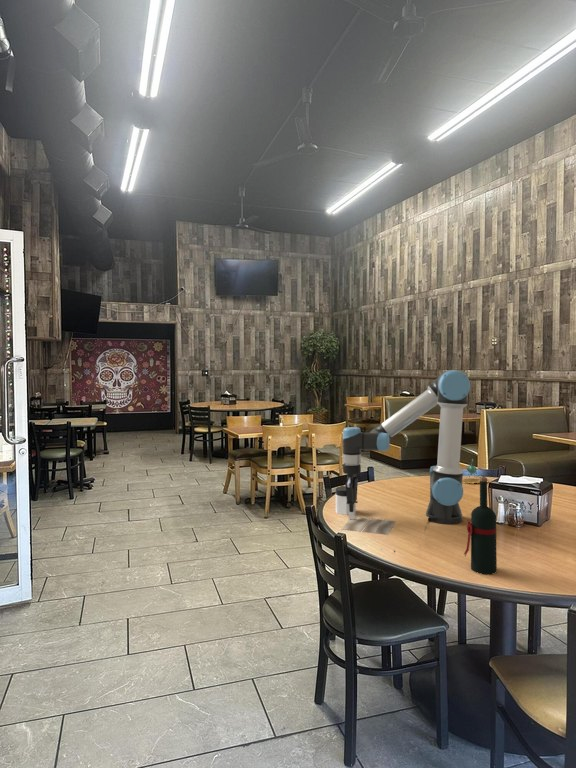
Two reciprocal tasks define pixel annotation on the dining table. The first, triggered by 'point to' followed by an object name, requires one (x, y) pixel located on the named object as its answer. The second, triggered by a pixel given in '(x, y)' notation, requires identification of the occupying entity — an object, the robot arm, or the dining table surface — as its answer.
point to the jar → (341, 501)
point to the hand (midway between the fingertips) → (352, 518)
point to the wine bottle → (482, 535)
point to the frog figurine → (471, 470)
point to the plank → (356, 524)
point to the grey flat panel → (383, 528)
